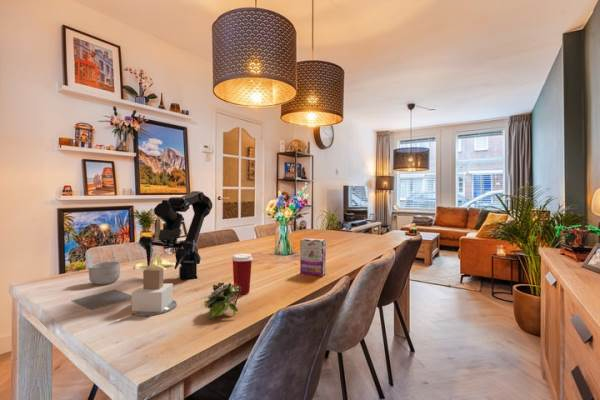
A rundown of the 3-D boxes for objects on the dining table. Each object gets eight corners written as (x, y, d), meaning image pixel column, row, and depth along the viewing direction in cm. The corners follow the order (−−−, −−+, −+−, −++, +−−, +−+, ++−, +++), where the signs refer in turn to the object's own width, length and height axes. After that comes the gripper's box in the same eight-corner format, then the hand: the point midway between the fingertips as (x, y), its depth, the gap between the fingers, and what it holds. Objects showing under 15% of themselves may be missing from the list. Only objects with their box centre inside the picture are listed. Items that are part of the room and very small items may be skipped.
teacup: (104, 288, 115) (104, 267, 114) (80, 286, 117) (80, 265, 117) (132, 278, 128) (132, 259, 128) (110, 276, 130) (110, 258, 130)
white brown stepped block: (145, 301, 102) (145, 265, 102) (172, 301, 102) (173, 265, 102) (131, 311, 93) (132, 272, 93) (161, 311, 93) (161, 273, 93)
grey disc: (173, 297, 107) (173, 286, 107) (179, 311, 95) (179, 298, 95) (128, 303, 100) (128, 292, 100) (128, 319, 88) (128, 306, 88)
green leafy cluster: (217, 326, 97) (227, 289, 104) (244, 327, 92) (253, 288, 99) (192, 316, 89) (205, 277, 96) (221, 317, 84) (232, 275, 91)
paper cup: (255, 290, 116) (256, 254, 115) (245, 297, 109) (246, 258, 108) (237, 288, 118) (238, 252, 118) (226, 294, 111) (227, 256, 111)
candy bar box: (325, 274, 141) (326, 239, 141) (322, 276, 137) (323, 240, 136) (303, 271, 145) (304, 237, 145) (299, 273, 141) (300, 238, 140)
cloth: (126, 268, 147) (126, 255, 147) (160, 261, 163) (160, 249, 162) (153, 275, 135) (153, 262, 135) (188, 267, 151) (188, 255, 151)
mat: (115, 291, 112) (115, 289, 112) (136, 298, 105) (136, 297, 105) (70, 302, 100) (70, 300, 100) (91, 311, 93) (91, 309, 93)
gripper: (142, 215, 107) (128, 258, 100) (196, 223, 111) (187, 265, 104) (147, 226, 117) (135, 266, 110) (197, 233, 121) (189, 272, 114)
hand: (161, 267), depth 109 cm, fingers open, 9 cm apart
